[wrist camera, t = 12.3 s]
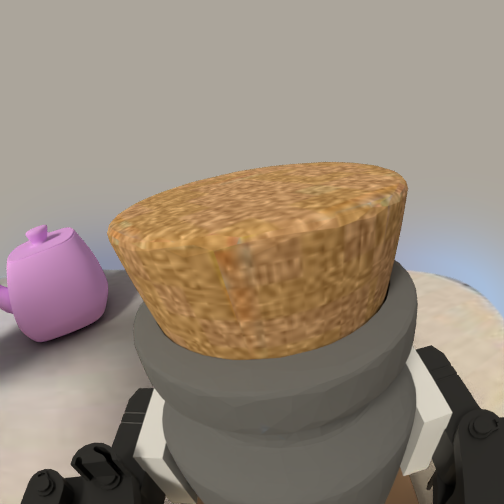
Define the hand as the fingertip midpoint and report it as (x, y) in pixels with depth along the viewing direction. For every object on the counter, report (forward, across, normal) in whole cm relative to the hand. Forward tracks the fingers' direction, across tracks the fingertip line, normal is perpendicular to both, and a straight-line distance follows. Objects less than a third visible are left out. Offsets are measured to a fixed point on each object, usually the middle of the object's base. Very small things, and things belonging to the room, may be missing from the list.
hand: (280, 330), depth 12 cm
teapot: (+27, -33, -14) cm, 45 cm away
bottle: (-5, 0, -9) cm, 10 cm away
